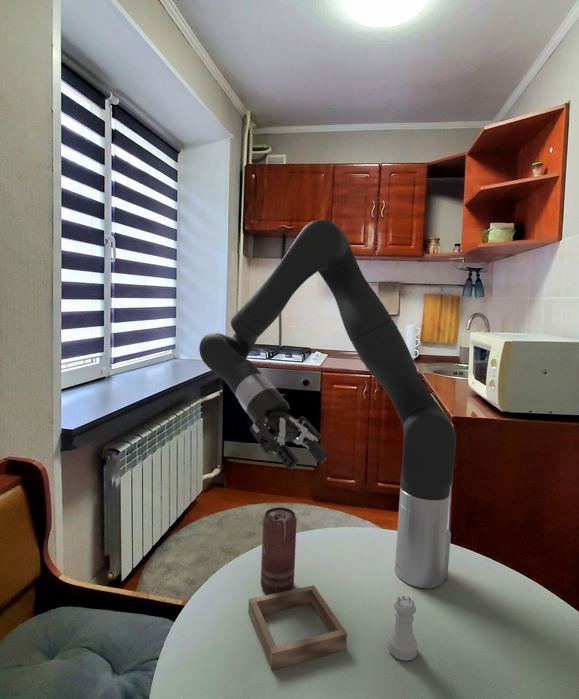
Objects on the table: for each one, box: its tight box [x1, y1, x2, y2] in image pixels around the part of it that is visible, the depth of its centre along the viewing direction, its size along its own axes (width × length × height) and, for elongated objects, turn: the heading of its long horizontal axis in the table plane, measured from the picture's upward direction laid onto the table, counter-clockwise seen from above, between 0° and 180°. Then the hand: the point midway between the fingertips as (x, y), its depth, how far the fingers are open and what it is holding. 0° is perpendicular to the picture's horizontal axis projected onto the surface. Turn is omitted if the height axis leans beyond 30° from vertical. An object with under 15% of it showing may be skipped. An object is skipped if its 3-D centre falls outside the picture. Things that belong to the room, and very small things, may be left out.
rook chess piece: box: [386, 595, 418, 662], centre depth 64 cm, size 4×4×8 cm
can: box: [260, 507, 298, 595], centre depth 77 cm, size 6×6×14 cm
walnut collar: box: [247, 584, 348, 671], centre depth 67 cm, size 12×12×2 cm
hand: (309, 462), depth 75 cm, fingers open, 8 cm apart
